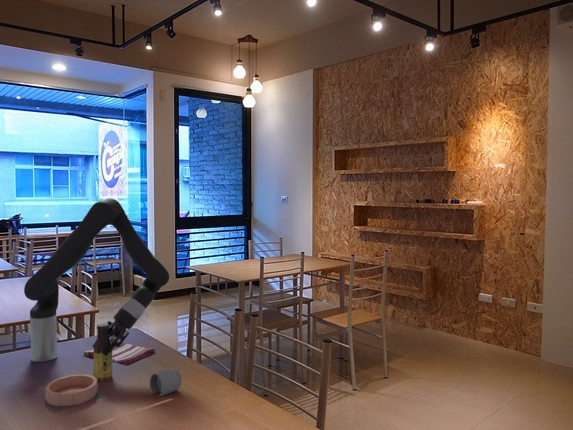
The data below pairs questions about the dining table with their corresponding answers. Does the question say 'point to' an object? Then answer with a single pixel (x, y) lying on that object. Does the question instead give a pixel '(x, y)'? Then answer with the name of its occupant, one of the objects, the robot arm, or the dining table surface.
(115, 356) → the dish towel
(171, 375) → the ceramic mug
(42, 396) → the mat
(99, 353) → the sauce bottle
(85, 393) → the bowl
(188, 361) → the dining table surface
